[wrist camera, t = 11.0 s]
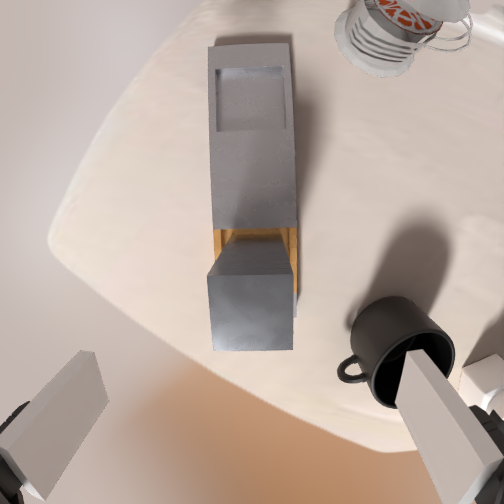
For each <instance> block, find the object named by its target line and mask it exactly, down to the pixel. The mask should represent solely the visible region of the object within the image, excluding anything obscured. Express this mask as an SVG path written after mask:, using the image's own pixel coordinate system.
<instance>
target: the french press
mask: <svg viewBox="0 0 504 504" xmlns="http://www.w3.org/2000/svg"><path fill="white" fill-rule="evenodd" d="M364 1H367V0H358V2H357V3H356V5H355V7H353V8H351V9H348V10H346V11H344V12H342V14H341V15H340V17H339V18H338V19H337V21H336V22H335V33H334V37H335V39H336V42H337V44H338V47H339V50H340V51H341V52H342V53H343V55H344V56H345V57H346V58H347V59H348V60H349V62H350V63H351V64H353V65H354V66H356V67H357V68H359V69H360V70H362V71H364V72H365V73H367V74H371V75H374V76H378V77H381V78H386V77H398V76H399V75H401V74H402V73H404V72H406V71H407V70H409V68H410V66H411V64H412V62H413V60H414V54H415V53H416V52H417V51H419V50H420V49H422V48H423V47H426V48H430V49H433V50H436V51H441V52H457V51H461V50H463V49H464V48H466V47H468V46H469V45H470V43H471V40H472V34H471V30H472V26H473V22H472V19H471V16H470V15H469V13H468V11H469V9H470V3H469V0H374V2H366V3H364ZM371 4H375V5H376V6H371V7H370V6H365V5H371ZM467 15H468V17H469V20H470V28H469V27H468V25H467V24H466V22H465V21H464V20H462V19H464V18H465V17H467ZM443 21H444V22H452V23H456V22H458V21H461V22H463V24H464V25H465V26H466V28H467V29H468V32H467V33H465V34H464V35H462V36H460V37H456V38H450V39H446V38H440V37H437V36H436V33H437V31H439V30H440V28H441V26H442V24H443ZM435 32H436V33H435ZM433 33H434V34H433ZM431 34H433V35H431ZM468 34H469V40H468V42H467V43H466V45H464V46H462V47H460V48H458V49H453V50H443V49H437V48H434V47H431V46H427V45H426V44H427V43H428V42H430V41H431V40H432V39H434V38H436V39H440V40H447V41H452V40H459V39H462V38H464V37H465V36H467V35H468ZM425 36H429V38H428V39H427V40H425V41H424V42H423V43H418V42H419V41H420V40H421V39H422V38H424V37H425ZM414 48H415V49H414Z"/></svg>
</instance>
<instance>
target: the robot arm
mask: <svg viewBox="0 0 504 504" xmlns="http://www.w3.org/2000/svg"><path fill="white" fill-rule="evenodd" d="M108 402H109V399H108V396H107V393H106V390H105V387H104V384H103V380H102V377H101V374H100V371H99V367H98V363H97V360H96V357H95V353H94V352H88V351H82V350H80V351H79V352H78V353H77V355H76V356H74V358H73V359H71V360H70V361H69V362H68V363H67V364H66V366H65V367H64V368H63V369H62V370H61V371H60V372H59V373H58V374H57V375H56V376H55V377H54V378H53V379H52V380H51V381H50V382H49V383H48V384H47V385H46V386H45V387H44V388H43V389H42V390H41V391H40V392H39V393H38V394H37V396H35V398H34V399H33V400H32V401H31V402H30V401H28V402H26V403H24V404H23V405H21V406H19V407H18V408H17V409H16V410H15V411H14V412H13V413H12V416H9V417H8V419H7V420H6V422H4V423H3V424H2V425H1V426H0V504H24V501H23V495H22V493H21V491H20V490H19V488H20V487H21V486H22V485H23V486H24V487H25V489H26V490H27V491H28V492H29V494H31V495H33V496H35V497H37V498H39V499H41V500H43V501H45V500H46V499H47V497H48V496H49V494H50V492H51V491H52V489H53V488H54V486H55V484H56V483H57V481H58V480H59V478H60V476H61V475H62V473H63V472H64V470H65V468H66V467H67V465H68V464H69V462H70V460H71V459H72V457H73V456H74V454H75V453H76V451H77V449H78V448H79V446H80V445H81V443H82V442H83V440H84V439H85V437H86V436H87V434H88V432H89V431H90V429H91V428H92V426H93V425H94V423H95V422H96V420H97V418H98V417H99V415H100V414H101V413H102V411H103V410H104V408H105V406H106V405H107V404H108ZM395 404H396V406H397V408H398V410H399V412H400V414H401V416H402V418H403V420H404V422H405V424H406V426H407V428H408V430H409V432H410V434H411V436H412V438H413V440H414V442H415V444H416V447H417V449H418V451H419V453H420V455H421V457H422V459H423V461H424V463H425V466H426V468H427V470H428V472H429V474H430V476H431V479H432V481H433V483H434V485H435V488H436V490H437V492H438V494H439V497H440V499H441V501H442V504H471V503H472V502H473V500H474V499H475V501H476V503H477V504H504V434H503V433H502V431H501V430H500V429H498V426H497V425H496V424H495V422H493V420H492V418H491V417H490V416H489V415H488V413H487V412H486V411H485V410H483V409H482V408H480V407H478V406H477V405H472V406H469V407H468V406H467V405H466V403H465V402H464V401H463V399H462V398H461V397H460V396H459V394H458V393H457V392H456V390H455V389H454V388H453V387H452V385H451V384H450V383H449V381H448V380H447V379H446V378H445V376H444V375H443V374H442V373H441V371H440V370H439V369H438V368H437V366H436V365H435V364H434V363H433V361H432V360H431V359H430V358H429V356H428V355H427V354H426V353H425V352H424V350H423V349H421V350H414V351H407V353H406V358H405V363H404V367H403V372H402V376H401V381H400V385H399V389H398V393H397V397H396V400H395Z"/></svg>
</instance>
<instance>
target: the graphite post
mask: <svg viewBox="0 0 504 504" xmlns="http://www.w3.org/2000/svg"><path fill="white" fill-rule="evenodd" d="M207 284H208V296H209V308H210V319H211V330H212V340H213V350H214V351H271V350H293V302H294V274H293V270H292V267H291V264H290V260H289V257H288V254H287V250H286V247H285V244H284V241H283V237H282V234H244V235H231V236H230V238H229V240H228V241H227V243H226V245H225V246H224V248H223V250H222V251H221V253H220V255H219V256H218V258H217V260H216V261H215V263H214V265H213V266H212V268H211V270H210V272H209V273H208V275H207Z"/></svg>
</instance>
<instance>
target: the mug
mask: <svg viewBox="0 0 504 504" xmlns="http://www.w3.org/2000/svg"><path fill="white" fill-rule="evenodd" d="M350 342H351V348H352V351H353V353H354V355H352V356H351V357H349V358H347V359H345V360H344V361H343V362H342V363H341V364H340V365H339V367H338V369H337V374H338V377H339V379H340V380H341V381H343V382H345V383H360V382H366V381H367V383H368V386H369V388H370V390H371V392H372V394H373V396H374V398H375V399H376V400H377V401H378V402H379V403H380V404H382V405H383V406H385V407H388V408H393V409H398V408H397V406H396V404H395V400H396V397H397V393H398V389H399V385H400V381H401V376H402V372H403V367H404V363H405V358H406V353H407V351H414V350H421V349H423V350H424V352H425V353H426V354H427V355H428V356H429V358H430V359H431V360H432V361H433V363H434V364H435V365H436V366H437V368H438V369H439V370H440V371H441V373H442V374H443V375H444V376H445V378H446V379H447V378H448V377H449V375H450V373H451V371H452V368H453V365H454V360H455V348H454V344H453V342H452V340H451V338H450V337H449V336H448V335H447V334H446V333H445V332H444V331H443V330H442V329H441V328H440V327H439V326H438V325H437V324H436V323H435V322H434V321H433V320H432V319H430V318H429V317H428V316H427V315H426V314H425V313H424V312H423V311H422V310H421V309H420V308H419V307H417V306H416V305H415V304H414V303H413V302H412V301H410V300H408V299H406V298H403V297H386V298H383V299H380V300H378V301H376V302H374V303H372V304H371V305H369V306H368V307H367V308H366V309H365V310H364V311H363V312H362V313H361V314H360V315H359V317H358V318H357V320H356V322H355V324H354V326H353V329H352V332H351V339H350ZM353 363H354V364H355V363H358V364H359V366H360V368H361V370H362V373H361V374H360V375H354V376H352V375H348V374H346V373H345V369H346V368H347V367H348V366H349V365H351V364H353Z"/></svg>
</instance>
